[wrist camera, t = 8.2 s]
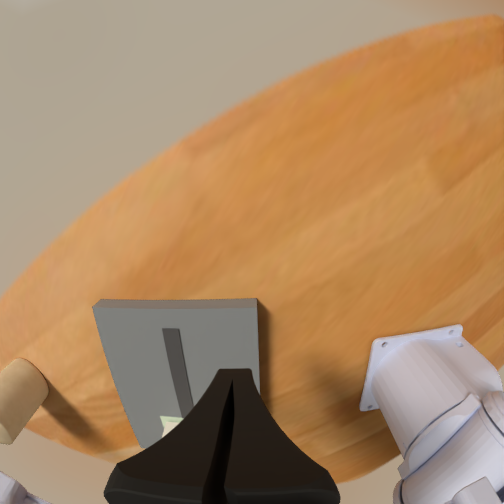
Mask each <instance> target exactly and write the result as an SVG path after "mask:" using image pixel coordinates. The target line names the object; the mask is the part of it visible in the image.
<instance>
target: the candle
mask: <svg viewBox="0 0 504 504" xmlns="http://www.w3.org/2000/svg"><path fill="white" fill-rule="evenodd" d="M48 393H49V389H48V385H47V382H46V380H45V379H44V377H43V375H42V374H41V373H40V371H39V370H38V369H37V368H36V367H35V366H34V365H33V364H31V363H30V362H29V361H27V360H25V359H23V358H16V359H14V360H13V361H12V362H11V363H10V364H9V365H7V366H6V367H5V368H4V369H3V370H2V371H1V372H0V443H1V444H8V445H10V444H12V443H13V442H14V440H15V439H16V437H17V436H18V435H19V433H20V432H21V431H22V429H23V428H24V426H25V425H26V424H27V422H28V421H29V420H30V418H31V417H32V416H33V414H34V413H35V412H36V410H37V409H38V408H39V406H40V405H41V404H42V403H43V401H44V400H45V398H46V397H47V395H48Z"/></svg>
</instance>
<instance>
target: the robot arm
mask: <svg viewBox="0 0 504 504" xmlns="http://www.w3.org/2000/svg"><path fill="white" fill-rule="evenodd" d="M462 330H463V327H462V326H461V325H460V324H458V325H453V326H448V327H443V328H438V329H432V330H427V331H421V332H416V333H410V334H403V335H397V336H390V337H383V338H377V339H375V340H374V341H373V343H372V347H371V353H370V358H369V364H368V369H367V374H366V378H365V383H364V388H363V392H362V396H361V401H360V405H359V409H360V410H361V411H368V410H374V409H379V408H380V410H381V412H382V414H383V416H384V418H385V420H386V422H387V425H388V427H389V429H390V431H391V433H392V435H393V437H394V439H395V441H396V443H397V446H398V448H399V450H400V452H401V454H402V456H403V458H404V462H403V463H402V464H401V465H400V466H399V467H398V470H399V473H400V475H401V477H402V479H401V480H400V481H399V482H398V483H397V484H396V486H395V489H394V493H393V503H394V504H504V392H503V388H502V382H501V379H500V376H499V374H498V371H497V370H496V368H495V367H494V366H493V365H492V364H491V363H490V362H489V361H488V360H487V359H486V358H485V357H484V356H483V355H482V354H481V353H479V352H478V351H477V350H476V349H475V348H474V347H473V346H472V345H471V344H470V343H469V342H468V341H466V340H465V339H464V338H463V337H462V336H461V334H462ZM450 331H451V332H450ZM449 332H450V333H449ZM384 342H386V343H385V344H384V345H382V344H383V343H384ZM369 405H370V406H369ZM104 497H105V499H106V500H107V501H108V503H109V504H339V503H340V494H339V491H338V489H337V486H336V484H335V482H334V480H333V479H332V477H331V475H330V474H329V472H328V471H327V470H326V469H325V468H323V467H322V466H320V465H319V464H317V463H316V462H315V461H313V460H312V459H311V458H310V457H308V456H307V455H306V454H305V453H304V452H302V451H301V450H300V449H299V448H298V447H297V446H296V445H295V444H294V443H293V442H292V441H291V440H290V439H289V438H288V437H287V435H286V434H285V433H284V432H283V431H282V430H281V428H280V427H279V426H278V424H277V423H276V422H275V420H274V419H273V417H272V416H271V414H270V413H269V411H268V409H267V408H266V406H265V404H264V402H263V401H262V398H261V396H260V394H259V392H258V390H257V388H256V385H255V382H254V379H253V374H252V370H251V369H250V368H235V369H219V370H218V371H217V373H216V375H215V376H214V378H213V380H212V382H211V383H210V385H209V387H208V388H207V390H206V391H205V393H204V394H203V395H202V397H201V398H200V400H199V401H198V402H197V404H196V405H195V406H194V407H193V408H192V410H191V411H190V412H189V413H188V414H187V415H186V417H185V418H184V419H183V420H182V421H181V422H180V423H179V424H178V425H177V426H176V427H174V428H173V429H172V430H171V431H170V432H169V433H167V434H166V435H165V436H164V437H162V438H161V439H160V440H159V441H157V442H156V443H154V444H153V445H151V446H150V447H148V448H146V449H145V450H143V451H142V452H140V453H138V454H136V455H134V456H132V457H130V458H128V459H126V460H124V461H122V462H119V463H117V465H116V467H115V468H114V470H113V471H112V473H111V475H110V477H109V480H108V482H107V485H106V487H105V490H104ZM0 504H51V503H49V502H47V501H45V500H43V499H41V498H39V497H37V496H34V495H33V494H30V493H29V492H27V490H26V489H25V488H24V487H23V486H22V485H21V484H20V483H19V482H18V481H16V480H15V479H13V478H11V477H10V476H8V475H6V474H4V473H3V472H1V471H0Z"/></svg>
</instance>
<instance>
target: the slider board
mask: <svg viewBox="0 0 504 504" xmlns="http://www.w3.org/2000/svg"><path fill="white" fill-rule="evenodd" d="M92 308H93V312H94V316H95V320H96V324H97V328H98V332H99V335H100V339H101V342H102V346H103V349H104V352H105V356H106V359H107V362H108V365H109V368H110V371H111V374H112V377H113V380H114V383H115V386H116V388H117V391H118V394H119V397H120V399H121V402H122V404H123V407H124V410H125V412H126V415H127V417H128V419H129V422H130V424H131V426H132V429H133V431H134V433H135V436H136V438H137V440H138V442H139V444H140V447H141V448H148V447H150V446H151V445H153V444H154V443H156V442H157V441H159V440H160V439H161V438H162V435H163V432H164V428H165V425H166V422H177V423H180V422H181V421H182V420H183V419H184V418H185V417H186V415H187V414H188V413H189V412H190V411H191V410H192V408H193V407H194V406H195V405H196V404H197V402H198V401H199V400H200V398H201V397H202V395H203V394H204V393H205V391H206V390H207V388H208V387H209V385H210V383H211V382H212V380H213V378H214V376H215V375H216V373H217V371H218V370H219V369H235V368H250V369H251V370H252V374H253V379H254V382H255V385H256V388H257V390H258V392H259V394H260V380H259V350H258V321H257V298H251V299H216V300H108V299H101V300H100V301H98V302H97V303H96V304H95V305H94V306H93V307H92Z"/></svg>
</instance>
